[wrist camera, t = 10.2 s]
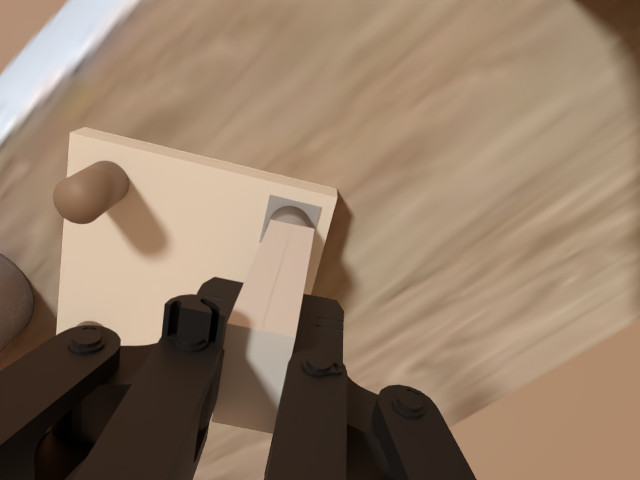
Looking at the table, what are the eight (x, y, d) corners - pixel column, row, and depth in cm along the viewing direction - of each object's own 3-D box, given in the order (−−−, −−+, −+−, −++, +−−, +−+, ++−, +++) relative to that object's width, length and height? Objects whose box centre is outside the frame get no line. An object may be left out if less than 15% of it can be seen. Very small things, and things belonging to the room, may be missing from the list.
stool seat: (336, 188, 41) (339, 219, 34) (282, 388, 48) (275, 447, 41) (85, 127, 39) (33, 146, 32) (67, 342, 46) (22, 396, 39)
